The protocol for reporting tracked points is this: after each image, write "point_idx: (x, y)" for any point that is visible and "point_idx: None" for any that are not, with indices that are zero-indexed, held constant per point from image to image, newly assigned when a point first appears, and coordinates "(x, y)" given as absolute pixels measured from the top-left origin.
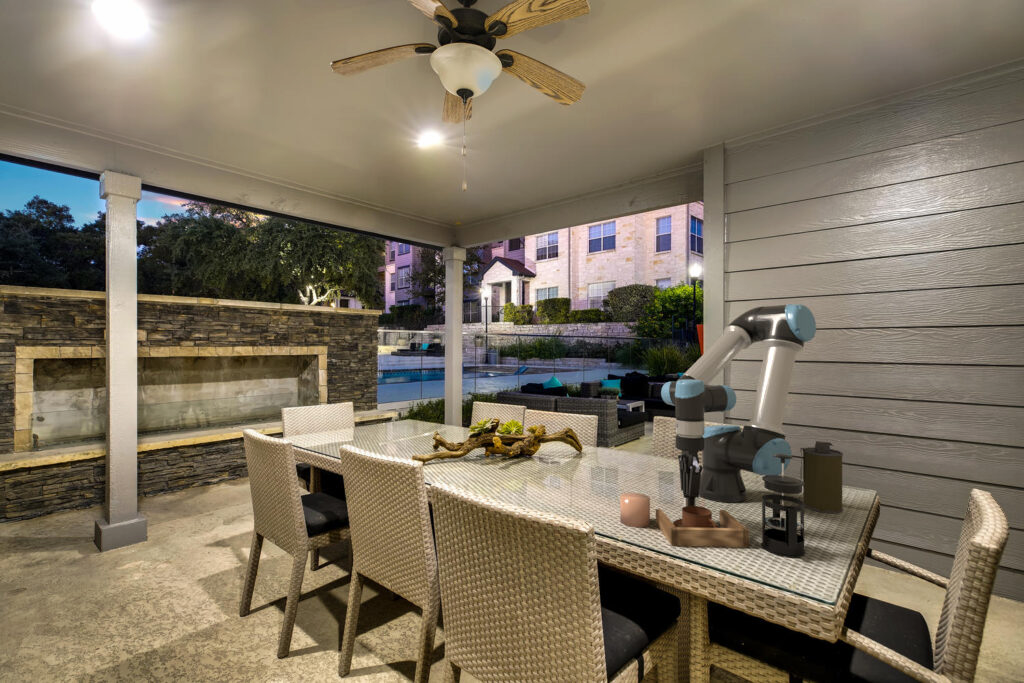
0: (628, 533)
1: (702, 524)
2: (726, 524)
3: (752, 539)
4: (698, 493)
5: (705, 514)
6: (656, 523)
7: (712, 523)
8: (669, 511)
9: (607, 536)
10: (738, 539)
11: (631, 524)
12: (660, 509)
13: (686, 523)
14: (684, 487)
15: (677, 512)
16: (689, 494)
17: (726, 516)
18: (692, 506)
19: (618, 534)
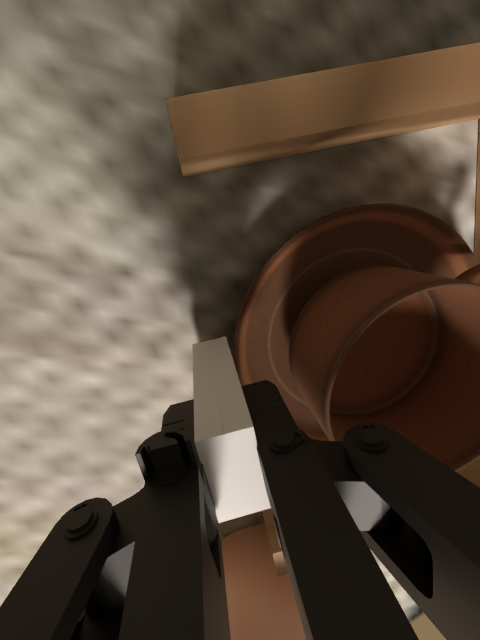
0: (383, 572)
1: (475, 338)
2: (309, 145)
3: (406, 2)
4: (428, 461)
5: (346, 307)
6: None
7: (288, 242)
8: (35, 455)
9: (415, 617)
10: None
11: None
12: (277, 556)
13: (421, 414)
14: (228, 619)
15: (33, 415)
16: (399, 530)
17: (334, 129)
18: (329, 417)
19: (396, 596)
